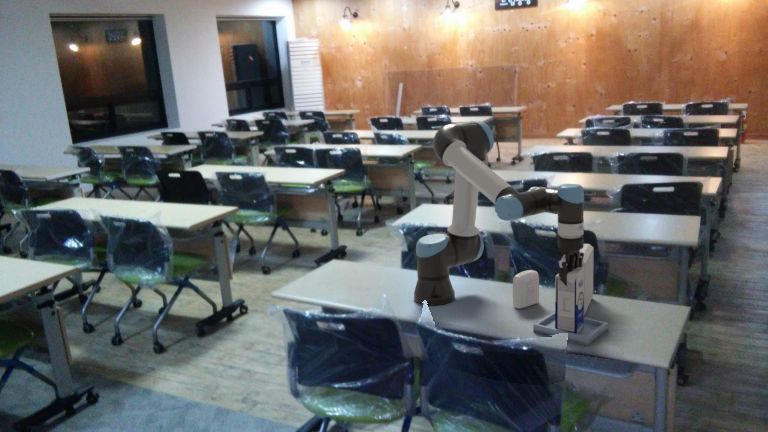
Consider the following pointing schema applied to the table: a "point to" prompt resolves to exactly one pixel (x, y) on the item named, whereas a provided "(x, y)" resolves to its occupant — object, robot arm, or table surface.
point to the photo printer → (525, 289)
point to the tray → (585, 337)
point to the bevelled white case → (587, 274)
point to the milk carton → (570, 302)
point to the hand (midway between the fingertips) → (570, 308)
